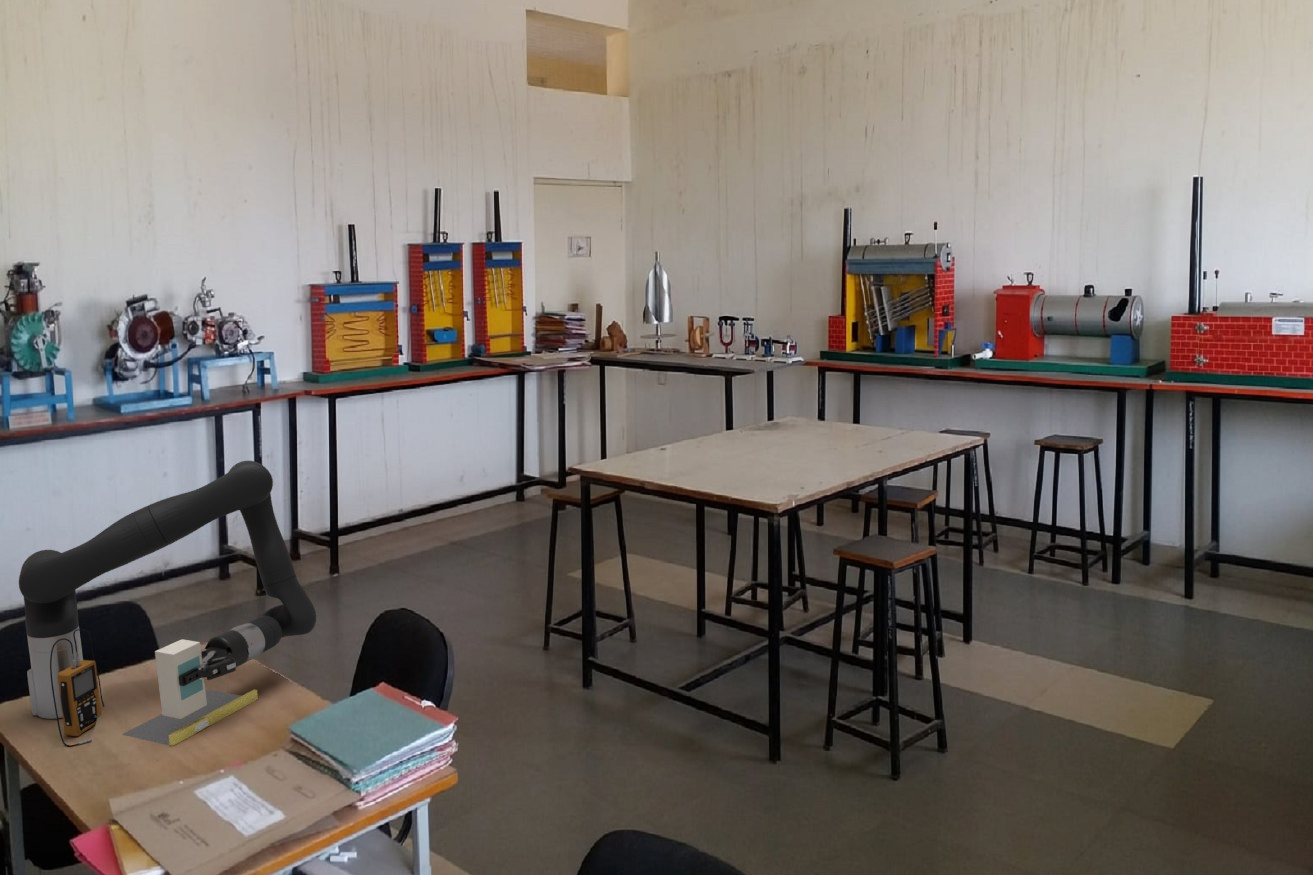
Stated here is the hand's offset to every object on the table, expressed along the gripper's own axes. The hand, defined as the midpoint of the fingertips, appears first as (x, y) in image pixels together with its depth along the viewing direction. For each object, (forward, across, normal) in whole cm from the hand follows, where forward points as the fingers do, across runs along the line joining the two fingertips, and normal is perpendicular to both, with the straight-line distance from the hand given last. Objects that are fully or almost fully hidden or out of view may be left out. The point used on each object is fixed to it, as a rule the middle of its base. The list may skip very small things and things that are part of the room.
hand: (170, 679), depth 204 cm
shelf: (-6, -2, +12) cm, 14 cm away
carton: (-3, 0, +8) cm, 8 cm away
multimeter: (+3, -17, +12) cm, 22 cm away
